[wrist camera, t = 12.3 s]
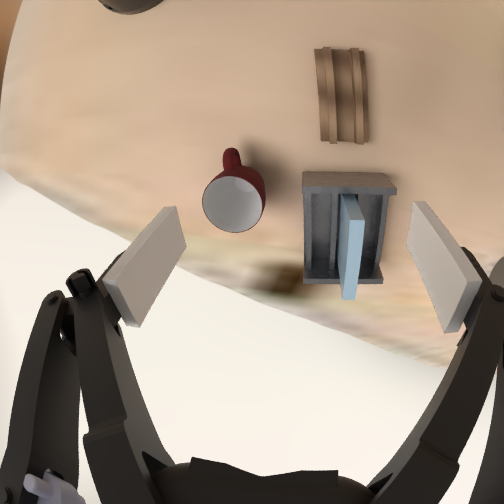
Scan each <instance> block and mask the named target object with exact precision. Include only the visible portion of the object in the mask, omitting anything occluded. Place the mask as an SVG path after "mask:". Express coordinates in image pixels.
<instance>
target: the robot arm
mask: <svg viewBox="0 0 504 504" xmlns="http://www.w3.org/2000/svg"><path fill="white" fill-rule="evenodd" d="M98 1H99V2H100V3H102V4H103V5H104V6H105V7H106V8H107V9H109V10H110V11H113V12H116V13H120V14H126V15H130V14H137V13H140V12H143V11H146V10H148V9H150V8H152V7H154V6H155V5H157V4H158V3H160V2H161V1H162V0H98ZM406 246H407V248H408V250H409V252H410V254H411V256H412V258H413V260H414V262H415V264H416V266H417V269H418V271H419V273H420V275H421V277H422V280H423V282H424V284H425V286H426V289H427V291H428V293H429V296H430V298H431V301H432V303H433V306H434V308H435V311H436V313H437V316H438V318H439V321H440V324H441V327H442V329H443V332H444V333H451V332H458V331H459V329H460V327H461V325H462V323H463V321H464V324H465V326H466V330H465V332H464V334H463V336H462V337H461V339H460V341H459V342H458V344H457V346H458V348H457V350H456V352H455V355H454V357H453V359H452V361H451V363H450V365H449V367H448V369H447V371H446V373H445V376H444V378H443V380H442V381H441V383H440V385H439V387H438V389H437V391H436V392H435V394H434V396H433V398H432V400H431V401H430V403H429V405H428V406H427V408H426V410H425V411H424V413H423V415H422V416H421V418H420V419H419V421H418V423H417V424H416V426H415V427H414V429H413V430H412V432H411V433H410V435H409V436H408V437H407V439H406V440H405V442H404V443H403V444H402V446H401V447H400V448H399V450H398V451H397V453H396V454H395V455H394V456H393V458H392V459H391V460H390V462H389V463H388V464H387V465H386V466H385V467H384V468H383V469H382V470H381V471H380V472H379V473H378V474H377V475H376V477H374V478H373V480H372V481H371V482H370V483H369V484H368V485H367V486H366V487H365V486H364V485H362V484H361V483H359V482H357V481H354V480H352V479H349V478H346V477H342V476H338V470H329V471H328V470H327V471H303V470H302V471H296V472H291V473H285V474H278V475H272V476H265V477H264V476H258V475H255V474H252V473H249V472H246V471H243V470H241V469H238V468H236V467H233V466H231V465H228V464H226V463H220V462H215V461H210V460H204V459H200V458H195V457H192V458H191V462H190V463H180V464H176V465H175V463H174V461H173V460H172V458H171V457H170V456H169V454H168V453H167V452H166V451H165V449H164V447H163V445H162V443H161V441H160V439H159V437H158V434H157V432H156V430H155V427H154V425H153V422H152V420H151V417H150V415H149V413H148V410H147V408H146V405H145V402H144V400H143V397H142V394H141V391H140V388H139V386H138V383H137V380H136V377H135V374H134V371H133V368H132V365H131V362H130V358H129V355H128V352H127V348H126V345H125V341H124V338H123V334H122V330H121V327H120V325H119V324H118V321H119V320H120V318H121V317H122V319H123V320H124V322H125V324H126V326H132V327H140V326H141V324H142V322H143V321H144V319H145V317H146V315H147V313H148V311H149V310H150V308H151V306H152V304H153V303H154V301H155V299H156V297H157V296H158V294H159V292H160V291H161V289H162V287H163V285H164V284H165V282H166V280H167V279H168V277H169V275H170V273H171V272H172V270H173V268H174V267H175V265H176V263H177V262H178V260H179V258H180V257H181V255H182V254H183V252H184V250H185V249H186V247H187V246H186V243H185V239H184V235H183V232H182V228H181V224H180V220H179V216H178V212H177V208H176V206H172V207H164V208H163V209H162V210H161V211H160V212H159V213H158V214H157V216H156V217H155V218H154V219H153V220H152V221H151V222H150V223H149V224H148V225H147V227H146V228H145V229H144V230H143V231H142V232H141V233H140V234H139V236H138V237H137V238H136V239H135V240H134V241H133V242H132V244H131V245H130V246H129V247H128V248H127V250H125V251H124V252H122V253H121V254H119V255H118V256H117V257H116V258H115V259H114V261H113V262H112V263H111V264H110V266H109V267H108V269H106V270H105V272H104V273H103V274H102V275H101V276H100V278H99V279H98V280H97V281H96V282H95V280H94V278H93V276H92V274H91V272H90V270H89V269H87V268H86V269H80V270H78V271H76V272H74V273H73V274H71V275H70V276H69V278H68V279H67V280H66V285H67V287H68V289H69V290H70V292H71V294H72V296H73V297H69V298H65V296H64V294H63V293H62V291H60V290H56V291H53V292H51V293H50V294H48V295H47V296H46V297H45V299H44V300H43V302H42V304H41V307H40V309H39V312H38V315H37V317H36V320H35V323H34V326H33V329H32V332H31V335H30V338H29V341H28V344H27V348H26V351H25V355H24V358H23V362H22V366H21V370H20V374H19V378H18V382H17V387H16V391H15V396H14V401H13V407H12V413H11V419H10V426H9V435H8V444H7V449H6V451H5V455H4V458H3V461H2V464H1V468H0V504H86V503H85V500H84V498H83V497H82V496H80V495H79V494H78V492H77V488H78V478H79V452H78V427H79V403H80V389H81V391H82V397H83V402H84V408H85V413H86V418H87V422H88V426H89V432H88V433H87V434H84V436H83V445H84V449H85V453H86V457H87V460H88V464H89V468H90V471H91V474H92V478H93V481H94V483H95V486H96V490H97V492H98V495H99V498H100V501H101V503H102V504H438V503H439V502H440V500H441V499H442V497H443V496H444V494H445V493H446V491H447V490H448V488H449V487H450V485H451V483H452V482H453V480H454V478H455V477H456V475H457V473H458V471H459V466H460V465H459V463H458V459H459V457H460V454H461V453H462V451H463V448H464V447H465V445H466V443H467V441H468V439H469V437H470V435H471V433H472V431H473V428H474V426H475V424H476V422H477V419H478V417H479V415H480V412H481V410H482V407H483V405H484V402H485V400H486V397H487V394H488V391H489V389H490V386H491V383H492V380H493V377H494V374H495V371H496V367H497V381H496V391H495V399H494V407H493V414H492V420H491V425H490V430H489V436H488V440H487V445H486V449H485V453H484V456H483V460H482V464H481V467H480V471H479V474H478V477H477V480H476V483H475V486H474V489H473V492H472V495H471V498H470V501H469V504H504V288H502V287H501V286H498V285H492V283H491V281H490V280H489V278H488V276H487V275H486V273H485V272H484V270H483V269H482V267H480V264H479V263H478V261H477V260H476V258H475V257H474V255H473V254H472V253H471V252H470V251H469V250H467V249H466V248H465V247H460V246H459V244H458V243H457V242H456V240H455V239H454V237H453V236H452V235H451V233H450V232H449V231H448V229H447V228H446V227H445V225H444V224H443V223H442V222H441V220H440V219H439V218H438V216H437V215H436V214H435V213H434V211H433V210H432V209H431V208H430V207H429V205H428V204H427V203H426V202H420V201H413V207H412V214H411V220H410V226H409V232H408V237H407V243H406ZM60 333H61V334H62V339H61V337H60ZM497 364H498V365H497Z"/></svg>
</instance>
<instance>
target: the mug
mask: <svg viewBox="0 0 504 504" xmlns="http://www.w3.org/2000/svg"><path fill="white" fill-rule="evenodd" d="M223 167H224V171H223V172H221V173H220V174H219V175H217V176H216V177H215V178H214V179H213V180H212V181H211V182H210V183H209V185H208V186H207V187H206V189H205V191H204V193H203V198H202V205H203V210H204V213H205V215H206V216H207V218H208V219H209V221H210V222H211V223H212V224H213V225H215V226H216V227H217V228H219V229H221V230H224V231H227V232H232V233H239V232H244V231H247V230H249V229H251V228H252V227H253V226H255V225H256V224H257V222H258V221H259V219H260V218H261V215H262V213H263V210H264V207H265V200H266V196H265V186H264V182H263V179H262V177H261V176H260V175H259V173H258V172H256V171H255V170H254V169H252V168H249V167H246V166H242V165H241V159H240V155H239V152H238V151H237V149H235V148H228V149H226V150H225V152H224V154H223Z"/></svg>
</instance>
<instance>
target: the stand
mask: <svg viewBox="0 0 504 504" xmlns="http://www.w3.org/2000/svg"><path fill="white" fill-rule="evenodd" d="M314 52H315V61H316V72H317V83H318V96H319V111H320V129H321V141H329V142H330V144H337V141H342V142H355V143H356V144H361V145H364V142H368V105H367V84H366V70H365V59H364V51H359V49H358V48H351V49H350V50H335V49H331V47H323V49H315V50H314Z"/></svg>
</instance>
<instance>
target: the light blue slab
mask: <svg viewBox="0 0 504 504" xmlns="http://www.w3.org/2000/svg"><path fill="white" fill-rule="evenodd" d="M364 226H365V219H364V217H363V214H362V212H361V209H360V207H359V205H358V202H357V200H356V198H355V195H354V194H339V209H338V233H337V250H336V254H337V261H338V269H339V276H340V284H341V293H342V300H355V296H356V290H357V283H358V276H359V269H360V262H361V254H362V245H363V236H364Z"/></svg>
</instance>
